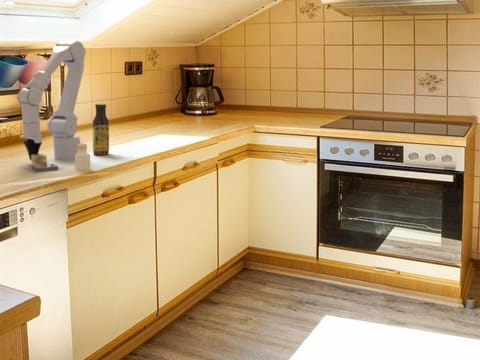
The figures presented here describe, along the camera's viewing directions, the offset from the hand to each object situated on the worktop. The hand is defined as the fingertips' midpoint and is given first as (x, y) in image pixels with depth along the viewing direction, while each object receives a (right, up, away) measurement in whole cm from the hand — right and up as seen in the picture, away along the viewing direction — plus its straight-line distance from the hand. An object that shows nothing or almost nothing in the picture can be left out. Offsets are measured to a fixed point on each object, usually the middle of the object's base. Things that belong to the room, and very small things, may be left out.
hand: (33, 160), depth 224 cm
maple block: (+4, -2, -5) cm, 7 cm away
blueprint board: (+5, -4, -7) cm, 10 cm away
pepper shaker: (+20, -4, -9) cm, 22 cm away
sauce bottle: (+19, +3, +23) cm, 30 cm away
